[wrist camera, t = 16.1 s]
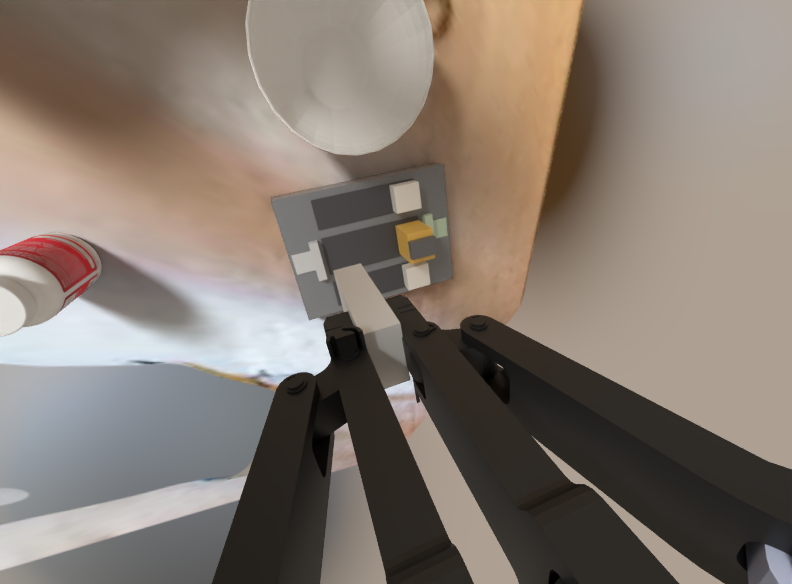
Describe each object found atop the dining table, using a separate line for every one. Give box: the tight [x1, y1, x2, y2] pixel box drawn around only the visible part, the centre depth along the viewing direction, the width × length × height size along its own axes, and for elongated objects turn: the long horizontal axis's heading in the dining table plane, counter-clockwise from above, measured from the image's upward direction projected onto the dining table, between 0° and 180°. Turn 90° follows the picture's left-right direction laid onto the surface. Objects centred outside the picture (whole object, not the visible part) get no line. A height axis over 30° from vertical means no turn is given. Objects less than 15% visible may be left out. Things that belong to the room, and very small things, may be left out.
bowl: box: [245, 0, 434, 156], centre depth 31 cm, size 16×16×7 cm
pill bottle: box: [0, 233, 102, 337], centre depth 29 cm, size 6×6×11 cm
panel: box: [271, 163, 453, 320], centre depth 41 cm, size 20×15×4 cm
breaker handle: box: [395, 220, 438, 264], centre depth 39 cm, size 3×4×5 cm
